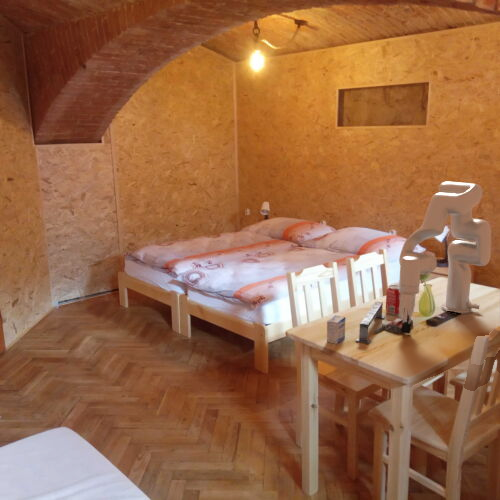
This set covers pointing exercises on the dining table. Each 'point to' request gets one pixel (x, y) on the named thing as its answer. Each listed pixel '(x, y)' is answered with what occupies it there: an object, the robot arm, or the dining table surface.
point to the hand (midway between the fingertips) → (406, 332)
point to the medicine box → (336, 329)
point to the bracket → (369, 322)
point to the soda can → (393, 300)
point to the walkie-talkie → (393, 325)
